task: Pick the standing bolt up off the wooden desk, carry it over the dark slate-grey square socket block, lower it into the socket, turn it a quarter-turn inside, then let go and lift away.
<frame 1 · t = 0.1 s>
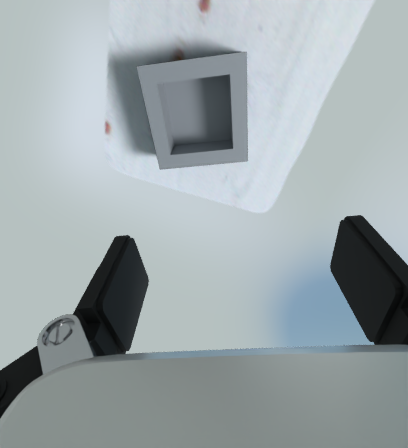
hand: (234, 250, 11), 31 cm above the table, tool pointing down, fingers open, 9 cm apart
socket block: (199, 110, 37), on the table
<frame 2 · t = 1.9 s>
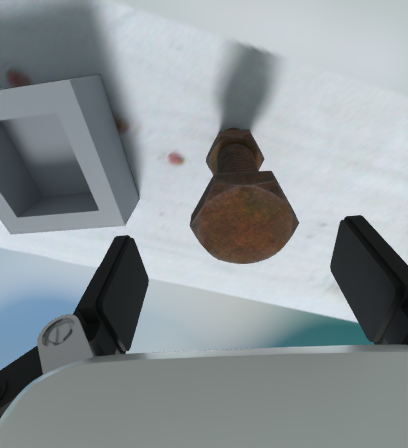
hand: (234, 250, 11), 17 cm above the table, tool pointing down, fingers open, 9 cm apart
bolt: (232, 142, 25), on the table
socket block: (65, 152, 27), on the table
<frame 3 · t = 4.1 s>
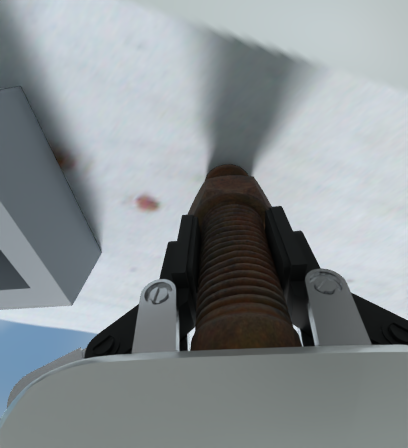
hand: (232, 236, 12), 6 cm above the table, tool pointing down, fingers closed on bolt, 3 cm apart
bolt: (226, 181, 18), on the table, touching gripper
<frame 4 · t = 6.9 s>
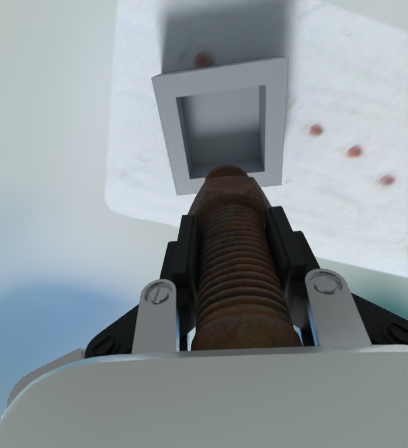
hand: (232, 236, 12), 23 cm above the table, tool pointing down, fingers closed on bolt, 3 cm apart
bolt: (226, 181, 17), point 17 cm above the table, touching gripper
socket block: (222, 125, 31), on the table
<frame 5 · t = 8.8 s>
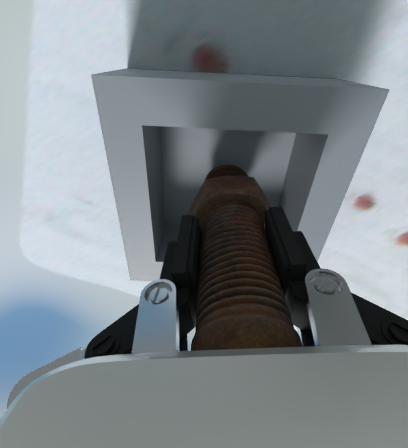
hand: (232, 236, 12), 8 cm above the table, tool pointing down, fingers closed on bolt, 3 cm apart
bolt: (226, 181, 18), point 2 cm above the table, touching gripper
socket block: (222, 172, 19), on the table
when the fingers open (8 cm above the table, at t = 10.0 s): bolt moves 1 cm, resting on socket block.
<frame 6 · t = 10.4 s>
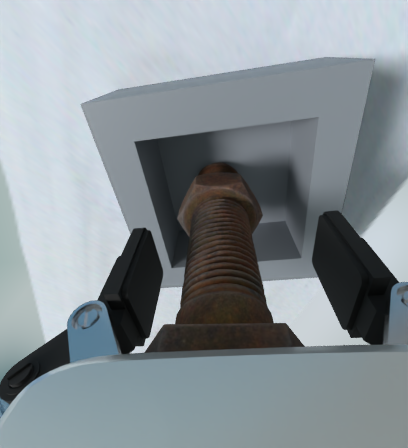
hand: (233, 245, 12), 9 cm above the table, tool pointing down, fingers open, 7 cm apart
bolt: (218, 179, 18), point 1 cm above the table, touching socket block
socket block: (225, 171, 19), on the table
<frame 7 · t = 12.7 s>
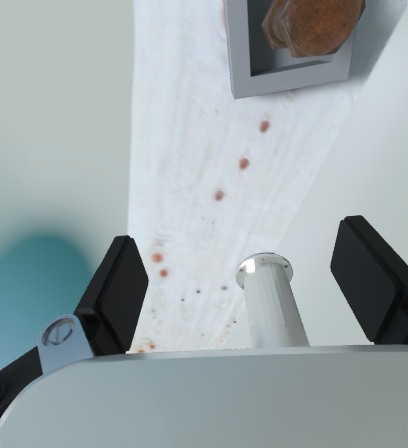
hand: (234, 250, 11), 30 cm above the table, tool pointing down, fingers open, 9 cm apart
bolt: (276, 25, 29), point 1 cm above the table, touching socket block
socket block: (280, 22, 29), on the table
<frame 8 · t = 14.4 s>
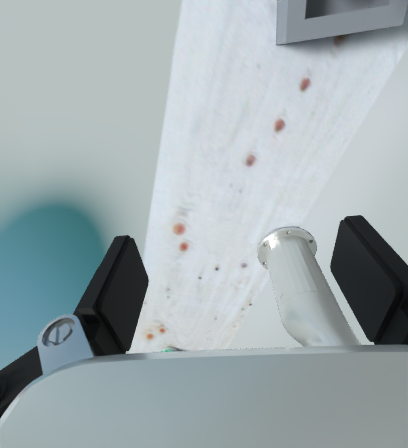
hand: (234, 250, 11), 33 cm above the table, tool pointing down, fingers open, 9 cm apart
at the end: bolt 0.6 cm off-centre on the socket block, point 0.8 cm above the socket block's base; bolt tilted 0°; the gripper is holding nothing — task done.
